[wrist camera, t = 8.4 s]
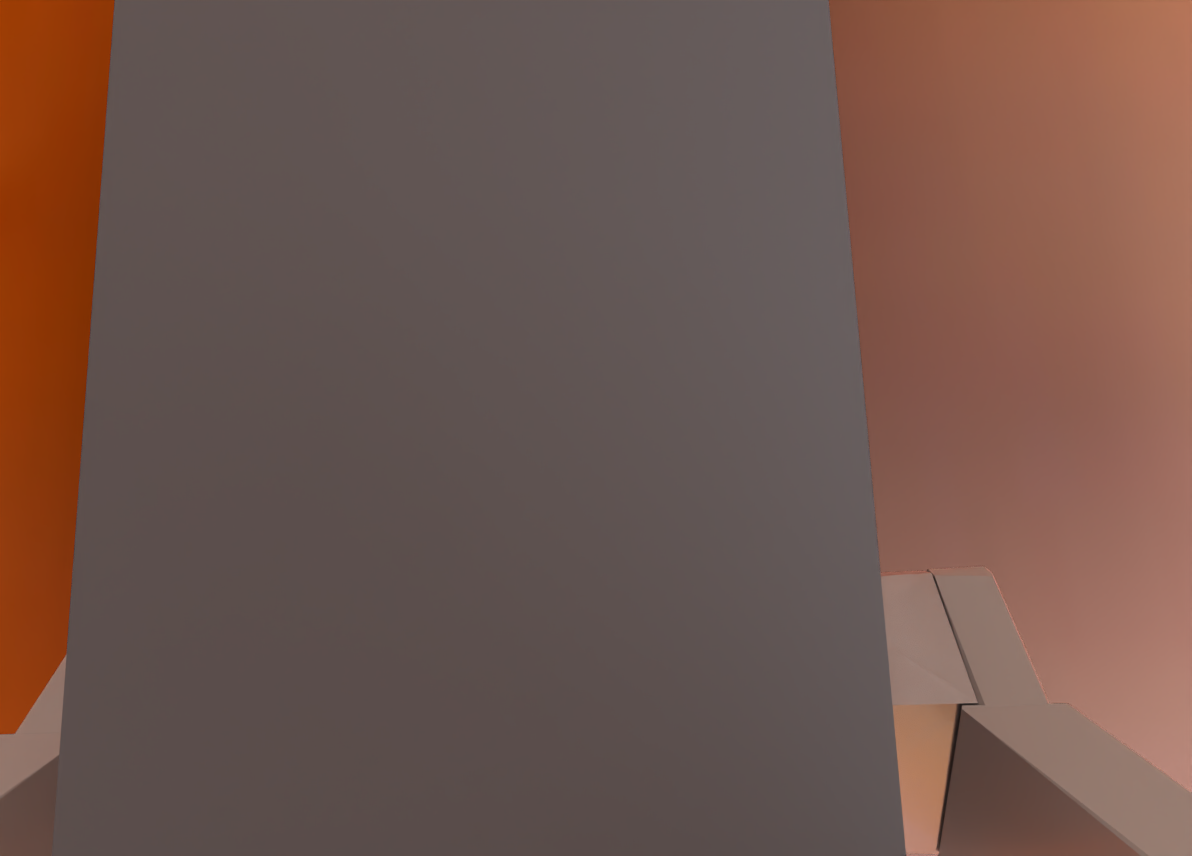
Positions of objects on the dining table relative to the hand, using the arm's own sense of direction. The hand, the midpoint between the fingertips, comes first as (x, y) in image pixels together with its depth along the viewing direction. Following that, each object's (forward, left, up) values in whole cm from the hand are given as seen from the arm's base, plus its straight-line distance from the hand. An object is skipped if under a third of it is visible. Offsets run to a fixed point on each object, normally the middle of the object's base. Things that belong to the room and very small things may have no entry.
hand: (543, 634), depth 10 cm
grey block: (-3, +3, -4) cm, 6 cm away
